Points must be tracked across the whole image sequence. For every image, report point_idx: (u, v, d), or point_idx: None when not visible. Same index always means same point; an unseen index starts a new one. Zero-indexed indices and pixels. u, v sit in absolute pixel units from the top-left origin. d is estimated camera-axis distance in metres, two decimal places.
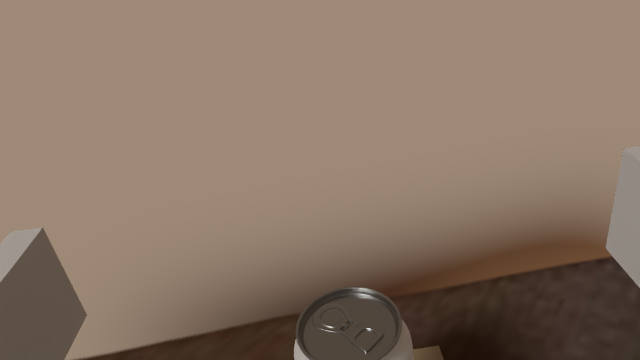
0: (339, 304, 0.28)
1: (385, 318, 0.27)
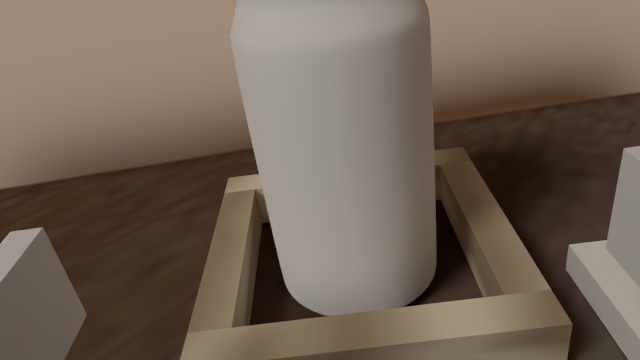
0: None
1: None
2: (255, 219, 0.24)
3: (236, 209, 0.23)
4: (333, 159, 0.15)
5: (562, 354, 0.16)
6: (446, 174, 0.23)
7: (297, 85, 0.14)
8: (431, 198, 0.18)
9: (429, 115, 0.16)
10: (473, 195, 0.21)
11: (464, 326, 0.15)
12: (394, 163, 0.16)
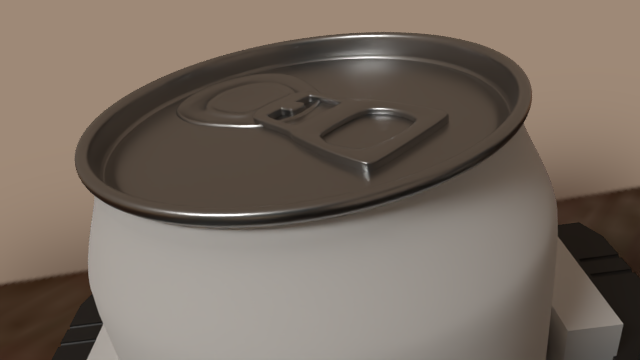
0: (282, 73, 0.08)
1: (448, 87, 0.07)
2: None
3: None
4: None
5: None
6: None
7: None
8: None
9: None
10: None
11: None
12: None
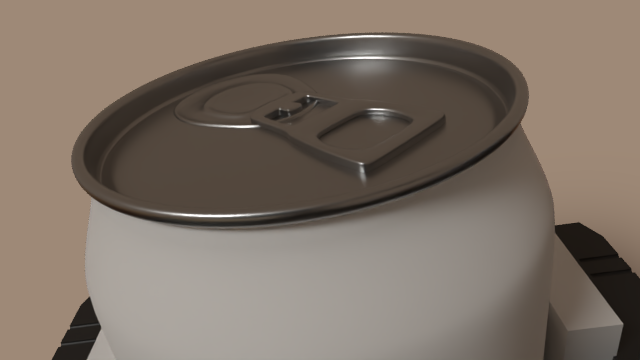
0: (280, 74, 0.08)
1: (445, 87, 0.07)
2: None
3: None
4: None
5: None
6: None
7: None
8: None
9: None
10: None
11: None
12: None
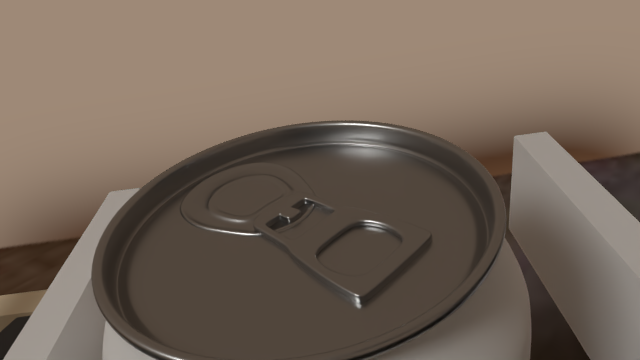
0: (278, 164, 0.09)
1: (432, 193, 0.07)
2: None
3: None
4: None
5: None
6: None
7: None
8: None
9: None
10: None
11: None
12: None
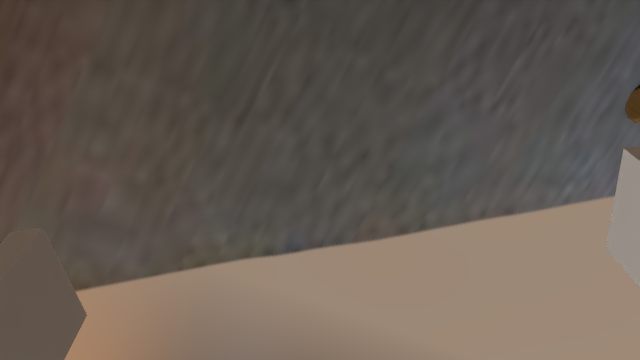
0: None
1: None
2: None
3: None
4: None
5: None
6: None
7: None
8: None
9: None
10: None
11: None
12: None
